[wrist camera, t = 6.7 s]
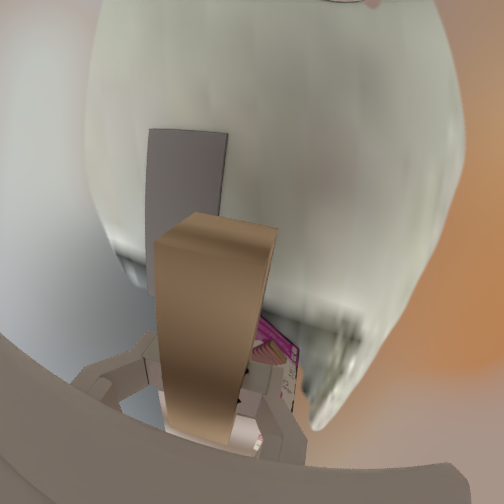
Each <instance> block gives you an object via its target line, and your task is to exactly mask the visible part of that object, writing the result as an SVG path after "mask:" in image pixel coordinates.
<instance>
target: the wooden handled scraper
mask: <svg viewBox="0 0 504 504" xmlns="http://www.w3.org/2000/svg"><path fill="white" fill-rule="evenodd" d="M277 230H278V229H277V228H273V227H268V226H263V225H258V224H254V223H249V222H244V221H239V220H234V219H229V218H224V217H219V216H214V215H209V214H204V213H199V212H195V213H193V214H192V215H190V216H189V217H187V218H186V219H185V220H183V221H182V222H180V223H179V224H178V225H176V226H175V227H173V228H172V229H171V230H169V231H168V232H166V233H165V234H164V235H162V236H161V237H160V238H158V239H157V240H156V241H154V279H155V303H156V319H157V333H158V345H159V355H160V364H161V373H162V381H163V389H164V390H163V389H160V388H159V389H158V392H159V398H160V404H161V409H162V414H163V420H164V424H165V429H166V432H168V433H171V434H173V435H176V436H179V437H182V438H185V439H188V440H191V441H194V442H197V443H200V444H203V445H206V446H210V447H213V448H217V449H220V450H224V451H228V452H232V453H236V454H240V455H245V456H249V457H250V455H251V452H252V450H253V448H254V446H255V443H256V441H257V438H258V436H259V434H260V431H259V428H258V426H257V423H256V420H255V417H252V416H248V415H244V414H240V413H237V412H236V407H237V403H238V399H239V398H238V397H239V393H240V389H241V385H242V382H243V378H244V375H245V373H246V369H247V365H248V362H249V360H250V359H251V355H252V350H253V346H254V341H255V337H256V332H257V327H258V323H259V318H260V313H261V309H262V304H263V299H264V294H265V290H266V285H267V280H268V275H269V270H270V265H271V260H272V255H273V250H274V245H275V240H276V235H277Z"/></svg>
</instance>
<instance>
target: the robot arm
mask: <svg viewBox="0 0 504 504" xmlns="http://www.w3.org/2000/svg"><path fill="white" fill-rule="evenodd" d="M331 1H340V2H353V1H361V0H331ZM284 370H285V369H284V368H283V367H278V366H272V365H269V364H264V363H260V362H255V361H251V360H249V362H248V365H247V369H246V373H245V375H244V378H243V382H242V385H241V389H240V393H239V397H238V398H239V399H238V403H237V407H236V412H237V413H240V414H244V415H248V416H252V417H255V420H256V423H257V426H258V428H259V431H260V433H261V436H262V438H263V441H262V443H261V445H260V447H259V449H258V451H257V453H256V455H255V457H254V458H253V457H249V456H245V455H240V454H236V453H232V452H228V451H224V450H220V449H217V448H213V447H210V446H206V445H203V444H200V443H197V442H194V441H191V440H188V439H185V438H182V437H179V436H176V435H173V434H171V433H168V432H165V431H162V430H160V429H158V428H155V427H153V426H150V425H148V424H145V423H143V422H141V421H138V420H136V419H134V418H132V417H129V416H127V415H125V414H123V413H122V410H121V407H120V405H119V402H120V401H122V400H123V399H125V398H127V397H129V396H131V395H132V394H134V393H136V392H138V391H140V390H141V389H143V388H145V387H147V386H148V384H149V385H152V386H155V387H157V388H160V389H163V381H162V373H161V364H160V355H159V345H158V333H156V332H153V331H151V330H148V331H146V333H145V334H144V335H143V336H142V338H141V339H140V340H139V342H138V343H137V344H136V345H135V347H134V348H133V349H132V351H131V352H128V351H127V352H124V353H122V354H119V355H116V356H113V357H111V358H108V359H105V360H102V361H99V362H97V363H94V364H91V365H88V366H85V367H84V368H83V369H82V370H81V372H80V373H79V374H78V375H77V376H76V377H75V379H74V380H73V381H72V382H71V383H70V384H68V383H67V382H65V381H64V380H62V379H61V378H59V377H58V376H56V375H54V374H53V373H52V372H50V371H49V370H47V369H46V368H44V367H43V366H42V365H40V364H39V363H37V362H36V361H34V360H33V359H32V358H30V357H29V356H28V355H27V354H25V353H24V352H23V351H22V350H20V349H19V348H18V347H17V346H15V345H14V344H13V343H12V342H11V341H9V340H8V339H7V338H6V337H5V336H3V335H2V334H1V333H0V504H471V493H470V487H469V483H468V481H467V479H466V478H465V477H464V476H463V475H462V474H461V473H460V471H459V470H457V469H456V468H455V467H454V466H453V465H452V464H451V463H447V462H445V463H437V464H430V465H422V466H413V467H402V468H387V469H386V468H385V469H342V468H325V467H313V466H305V458H306V448H307V438H306V436H305V435H304V433H303V431H302V430H301V428H300V426H299V425H298V423H297V421H296V419H295V418H294V416H293V414H292V412H291V411H290V409H289V407H288V405H287V404H286V402H285V400H284V398H280V395H281V389H282V383H283V377H284ZM163 390H164V389H163Z"/></svg>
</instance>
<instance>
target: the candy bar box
mask: <svg viewBox="0 0 504 504" xmlns="http://www.w3.org/2000/svg"><path fill="white" fill-rule="evenodd" d="M298 359H299V349H298V348H297V347H296V346H295V345H294V344H292V343H291V342H290V341H289V340H288V339H287V338H285V337H284V336H283V335H282V334H281V333H280V332H278V331H277V330H276V329H275V328H274V327H273V326H272V325H271V324H269V323H268V322H267V321H266V320H265V319H264V318H263V317H262V316H260V318H259V323H258V327H257V332H256V337H255V341H254V346H253V350H252V355H251V359H250V360H251V361H255V362H260V363H264V364H269V365H272V366H278V367H283V368H284V369H285V370H284V377H283V383H282V389H281V395H280V398H284V400H285V402H286V404H287V405H288V407H289V409H290V411H291V412H293V404H294V394H295V386H296V377H297V368H298ZM262 441H263V438H262V436H261V433H260V434H259V436H258V438H257V441H256V443H255V446H254V448H253V449H255V450H257V451H258V449H259V447H260V445H261V443H262Z"/></svg>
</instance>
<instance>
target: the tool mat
mask: <svg viewBox="0 0 504 504" xmlns="http://www.w3.org/2000/svg"><path fill="white" fill-rule="evenodd" d="M227 138H228V134H226V133H216V132H204V131H190V130H171V129H149V138H148V151H147V168H146V194H145V244H146V270H147V287H148V296H151V297H154V298H155V279H154V241H156V240H157V239H158V238H160V237H161V236H162V235H164V234H165V233H166V232H168V231H169V230H171V229H172V228H173V227H175V226H176V225H178V224H179V223H180V222H182V221H183V220H185V219H186V218H187V217H189V216H190V215H192V214H193V213H195V212H199V213H204V214H209V215H214V216H219V208H220V198H221V189H222V180H223V171H224V162H225V154H226V146H227Z"/></svg>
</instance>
